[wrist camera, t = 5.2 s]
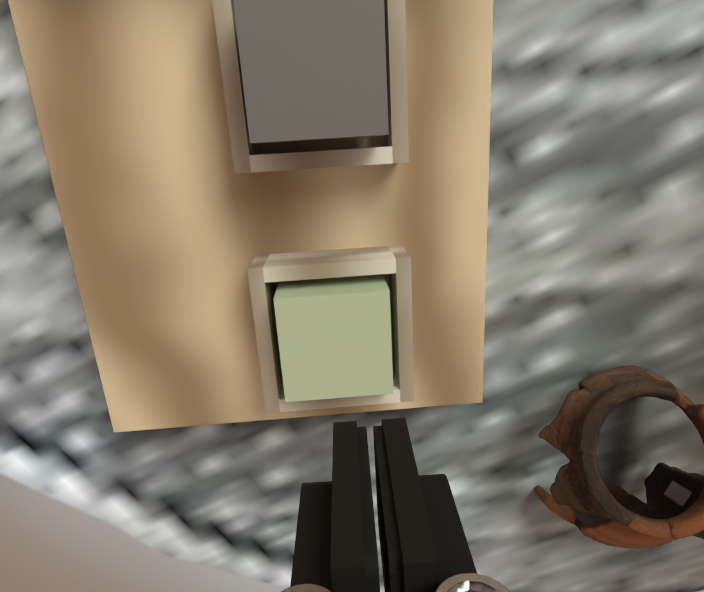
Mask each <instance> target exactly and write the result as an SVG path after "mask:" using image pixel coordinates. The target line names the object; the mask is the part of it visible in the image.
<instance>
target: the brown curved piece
mask: <svg viewBox="0 0 704 592" xmlns="http://www.w3.org/2000/svg"><path fill="white" fill-rule="evenodd" d="M644 396H649V397H657V398H660V399H664V400H668V401H672V402H673V403H675V404H676V405H677V406H679V407H680V408H681V409H682V410H683V411H684V413H685V414H686V415H687V416H688V417H689V419H690V420H691V421H692V422H693V424H694V425H695V427H696V428H697V430H698V432H699V434H700V436H701V438H702V441H703V444H704V404H698V405H694V404H693V403H692V402H691V401H690V400H689V399H688V398H687V397H686V396H684V395H683V394H682V392H681V391H680V390H679V389H678V388H676V387H675V386H674V385H673V384H672V383H671V382H669V381H668V380H666V379H664V378H663V377H661V376H659V375H657V374H655V373H653V372H651V371H648V370H643V369H641V368H640V367H637V366H622V367H617V368H612V369H607V370H604V371H601V372H598V373H596V374H594V375H592V376H590V377H588V378H585V379H583V380H582V381H581V382H580V383H579V390H574V391H571V392H570V393H569V395H568V396H567V398H566V399H565V401H564V404H563V407H562V408H561V410H560V412H559V414H558V415H557V417H556V418H555V419H554V420H553V421H552V423H551V424H550V425H548V426H546V427H545V428H544V429H543V430H542V431H541V432H540V433H539V435H538V436H539V437H540V438H542V439H545V440H546V441H547V442H549V443H550V444H551V445H552V446H554V447H555V448H557V449H558V450H560V451H561V452H562V453H563V454H565V455H566V456H567V457H568V458H569V459H570V462H569V463H568V464H566V465H564V466H562V467H561V468H560V469H559V471H558V473H557V475H556V479H555V482H554V483H553V484H552V485H551V487H550V492H551V494H552V495H550V494H549V493H548V492H546V491H545V490H544V489H543V488H541V487H540V486H535V487H534V490H535V492H536V493H537V495H538V496H539V498H540V500H541V501H542V502H543V503H544V504H545V505H546V506H547V507H548V508H549V509H550V510H551V511H552V512H554V513H556V514H557V515H559V516H560V517H562V518H563V519H565V520H567V521H569V522H570V523H573V524H575V525H576V526H577V527H578V528H579V530H580V531H581V532H582V533H583V534H584V535H586V536H588V537H590V538H592V539H593V540H595V541H598V542H601V543H604V544H606V545H611V546H618V547H624V548H651V547H655V546H661V545H663V544H666V543H669V542H671V541H672V540H676V539H678V538H684V537H688V536H691V535H693V536H696V537H700V538H703V539H704V476H702V475H700V474H695V473H687V472H684V471H681V470H680V469H678V468H676V467H669V466H668V465H666V464H664V463H658V464H657V465H656V466H655V468H654V470H653V472H652V473H651V474H650V475H649V476H648V477H647V478H646V479H645V486H646V497H647V504H646V503H644V502H642V501H641V500H639V499H638V498H636V497H635V496H633V495H630V494H628V493H627V492H626V491H625V490H624V489H622V488H621V487H620V486H615V487H614V488H613V489H612V490H611V491H610V492H609V490H608V489H607V487H606V485H605V483H604V481H603V479H602V477H601V474H600V472H599V468H598V464H597V460H596V454H595V453H596V444H597V440H598V435H599V431H600V428H601V426H602V424H603V422H604V420H605V418H606V416H607V415H608V414H609V413H610V412H611V411H612V410H613V409H614V408H616V407H617V406H618V405H619V404H622V403H624V402H626V401H628V400H630V399H633V398H637V397H644Z"/></svg>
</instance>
